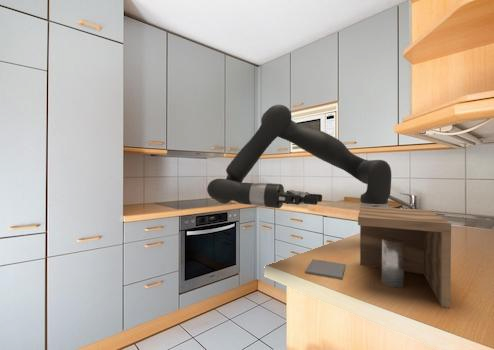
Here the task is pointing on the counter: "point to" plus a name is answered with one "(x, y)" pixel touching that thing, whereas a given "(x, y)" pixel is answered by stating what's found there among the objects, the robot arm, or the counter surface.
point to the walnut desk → (410, 243)
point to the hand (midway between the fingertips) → (319, 199)
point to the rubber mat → (326, 269)
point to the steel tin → (393, 262)
